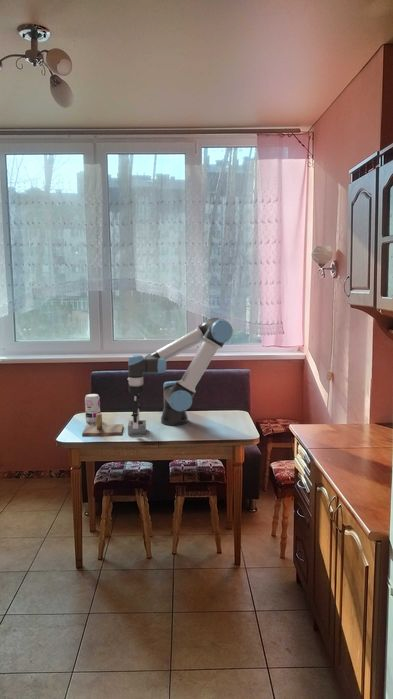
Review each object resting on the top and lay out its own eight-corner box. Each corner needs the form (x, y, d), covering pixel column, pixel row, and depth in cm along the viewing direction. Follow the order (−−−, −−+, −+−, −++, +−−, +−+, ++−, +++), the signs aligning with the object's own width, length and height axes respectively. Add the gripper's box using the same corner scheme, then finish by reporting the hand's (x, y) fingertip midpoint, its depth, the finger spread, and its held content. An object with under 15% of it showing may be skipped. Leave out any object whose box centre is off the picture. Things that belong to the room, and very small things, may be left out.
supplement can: (100, 418, 289) (99, 393, 287) (100, 422, 281) (99, 396, 279) (86, 419, 288) (85, 393, 286) (85, 423, 280) (84, 397, 278)
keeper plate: (123, 426, 273) (122, 409, 271) (121, 434, 259) (120, 417, 258) (86, 427, 272) (85, 410, 270) (82, 436, 258) (81, 418, 256)
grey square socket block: (146, 429, 268) (145, 420, 268) (145, 434, 259) (145, 425, 259) (129, 429, 268) (129, 420, 267) (128, 435, 259) (127, 425, 258)
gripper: (130, 379, 272) (130, 417, 275) (126, 390, 247) (127, 431, 250) (143, 379, 272) (144, 417, 275) (142, 390, 248) (142, 431, 251)
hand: (136, 424), depth 263 cm, fingers open, 13 cm apart
